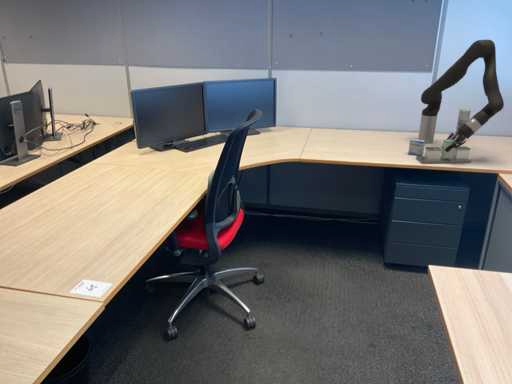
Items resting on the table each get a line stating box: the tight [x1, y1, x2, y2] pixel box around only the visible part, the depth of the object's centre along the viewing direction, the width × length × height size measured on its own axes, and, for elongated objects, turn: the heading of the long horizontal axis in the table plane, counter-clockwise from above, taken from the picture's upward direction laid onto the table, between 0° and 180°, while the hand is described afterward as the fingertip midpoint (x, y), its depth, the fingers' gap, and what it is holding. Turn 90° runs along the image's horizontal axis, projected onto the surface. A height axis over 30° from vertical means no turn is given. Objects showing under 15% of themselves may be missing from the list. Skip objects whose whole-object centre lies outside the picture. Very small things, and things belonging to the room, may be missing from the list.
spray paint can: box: [455, 108, 472, 140], centre depth 273 cm, size 6×6×20 cm
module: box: [441, 139, 454, 158], centre depth 236 cm, size 4×5×9 cm
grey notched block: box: [415, 145, 472, 165], centre depth 237 cm, size 9×27×8 cm, turn 92°
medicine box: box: [407, 138, 426, 157], centre depth 248 cm, size 8×4×9 cm, turn 62°
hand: (444, 149), depth 236 cm, fingers closed on module, 4 cm apart
